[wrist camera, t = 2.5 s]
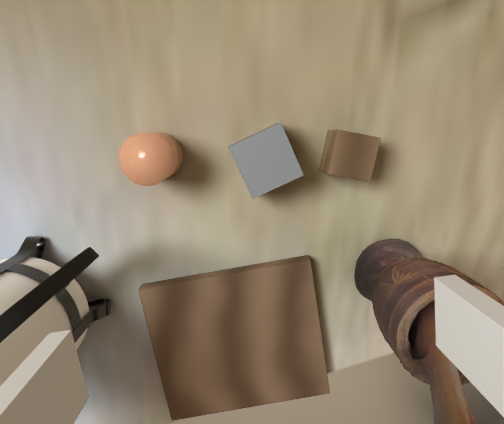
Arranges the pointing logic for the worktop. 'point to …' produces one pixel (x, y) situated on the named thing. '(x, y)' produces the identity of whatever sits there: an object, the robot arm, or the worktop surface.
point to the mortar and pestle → (414, 319)
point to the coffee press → (41, 302)
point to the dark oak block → (349, 154)
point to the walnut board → (237, 337)
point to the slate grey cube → (266, 160)
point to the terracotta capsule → (150, 157)
